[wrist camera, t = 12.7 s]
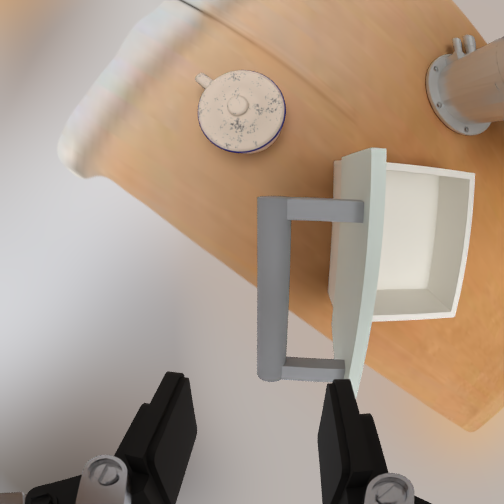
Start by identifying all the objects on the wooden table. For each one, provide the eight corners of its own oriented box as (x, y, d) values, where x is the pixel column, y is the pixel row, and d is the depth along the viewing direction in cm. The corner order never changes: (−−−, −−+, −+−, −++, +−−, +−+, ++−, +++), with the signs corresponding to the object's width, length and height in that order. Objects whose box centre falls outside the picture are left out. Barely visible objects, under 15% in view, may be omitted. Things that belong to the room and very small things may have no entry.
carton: (333, 160, 39) (349, 159, 30) (440, 170, 37) (475, 173, 29) (327, 292, 43) (338, 322, 35) (427, 291, 42) (454, 317, 33)
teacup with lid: (298, 120, 38) (306, 103, 26) (249, 170, 40) (238, 171, 29) (231, 62, 36) (214, 28, 25) (184, 111, 38) (151, 93, 27)
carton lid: (349, 157, 30) (280, 155, 31) (386, 148, 14) (249, 144, 16) (338, 324, 35) (277, 320, 36) (348, 428, 19) (251, 422, 20)
